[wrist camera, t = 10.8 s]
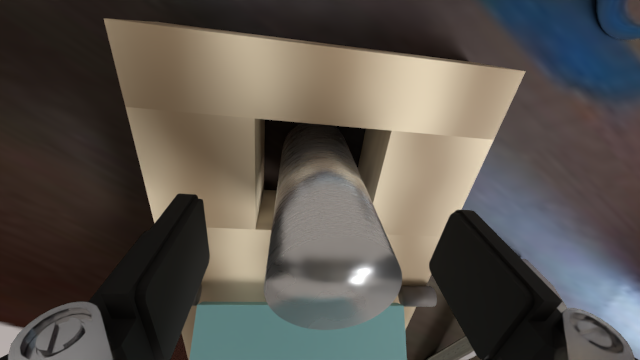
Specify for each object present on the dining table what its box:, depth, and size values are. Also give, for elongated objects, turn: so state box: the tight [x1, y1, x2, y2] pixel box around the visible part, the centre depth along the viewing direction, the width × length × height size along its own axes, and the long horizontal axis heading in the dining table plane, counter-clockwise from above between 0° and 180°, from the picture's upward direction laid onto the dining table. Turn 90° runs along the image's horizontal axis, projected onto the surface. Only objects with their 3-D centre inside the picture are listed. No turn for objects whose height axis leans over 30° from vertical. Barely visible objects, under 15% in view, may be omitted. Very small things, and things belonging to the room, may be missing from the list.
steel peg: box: [264, 123, 402, 330], centre depth 12 cm, size 4×4×10 cm
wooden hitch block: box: [104, 18, 525, 360], centre depth 16 cm, size 16×22×5 cm
